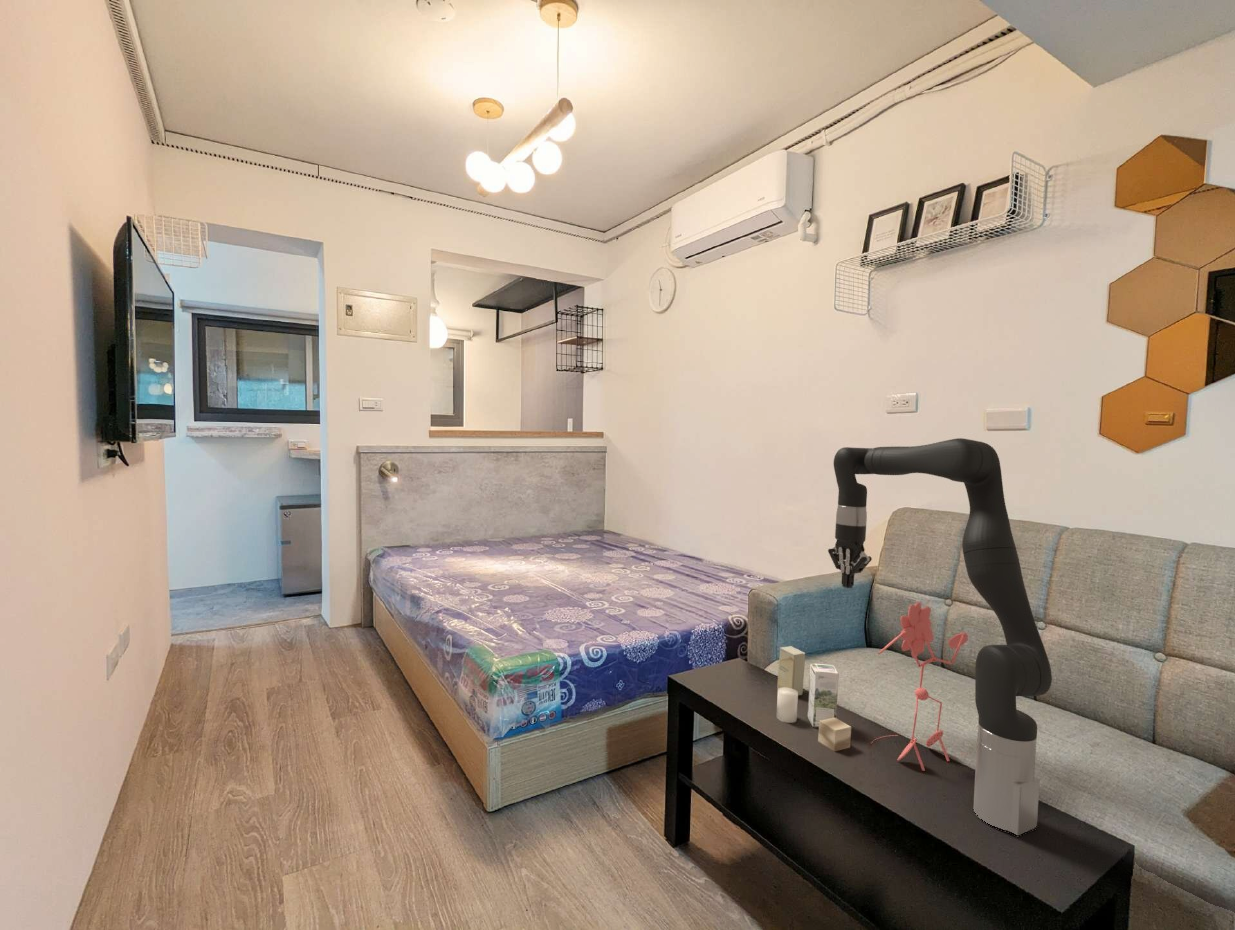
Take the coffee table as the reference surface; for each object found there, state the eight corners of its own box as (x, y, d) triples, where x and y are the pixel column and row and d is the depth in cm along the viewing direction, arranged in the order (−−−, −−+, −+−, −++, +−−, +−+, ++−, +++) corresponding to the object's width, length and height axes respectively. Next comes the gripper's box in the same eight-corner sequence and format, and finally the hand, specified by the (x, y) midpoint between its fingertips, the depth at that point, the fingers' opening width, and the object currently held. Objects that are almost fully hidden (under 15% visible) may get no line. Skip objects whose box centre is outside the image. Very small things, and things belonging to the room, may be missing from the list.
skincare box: (776, 688, 167) (778, 647, 166) (788, 686, 169) (790, 645, 168) (791, 697, 161) (793, 654, 161) (803, 695, 163) (806, 652, 163)
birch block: (850, 747, 135) (851, 726, 134) (834, 751, 132) (835, 730, 132) (833, 737, 139) (834, 717, 139) (818, 741, 137) (819, 720, 137)
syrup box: (829, 719, 149) (832, 663, 148) (836, 730, 143) (839, 672, 142) (807, 717, 149) (809, 661, 149) (812, 728, 143) (815, 670, 143)
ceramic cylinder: (800, 720, 147) (802, 693, 147) (785, 724, 145) (786, 696, 145) (787, 712, 152) (788, 686, 151) (772, 715, 149) (773, 688, 149)
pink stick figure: (974, 754, 133) (979, 604, 133) (903, 782, 121) (909, 616, 120) (912, 727, 147) (916, 590, 146) (843, 749, 134) (847, 599, 134)
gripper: (882, 526, 148) (878, 592, 149) (841, 519, 160) (838, 580, 161) (861, 526, 145) (857, 594, 146) (821, 519, 157) (818, 582, 158)
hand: (847, 587), depth 153 cm, fingers closed
